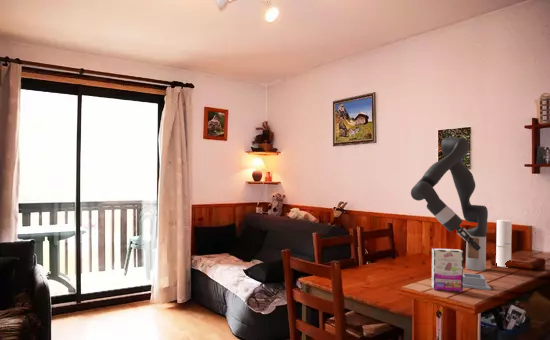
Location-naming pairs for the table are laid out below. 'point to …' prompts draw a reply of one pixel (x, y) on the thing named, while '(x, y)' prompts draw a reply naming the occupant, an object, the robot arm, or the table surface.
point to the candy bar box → (447, 269)
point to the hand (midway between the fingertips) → (478, 248)
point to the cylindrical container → (503, 242)
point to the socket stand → (475, 281)
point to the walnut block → (472, 249)
